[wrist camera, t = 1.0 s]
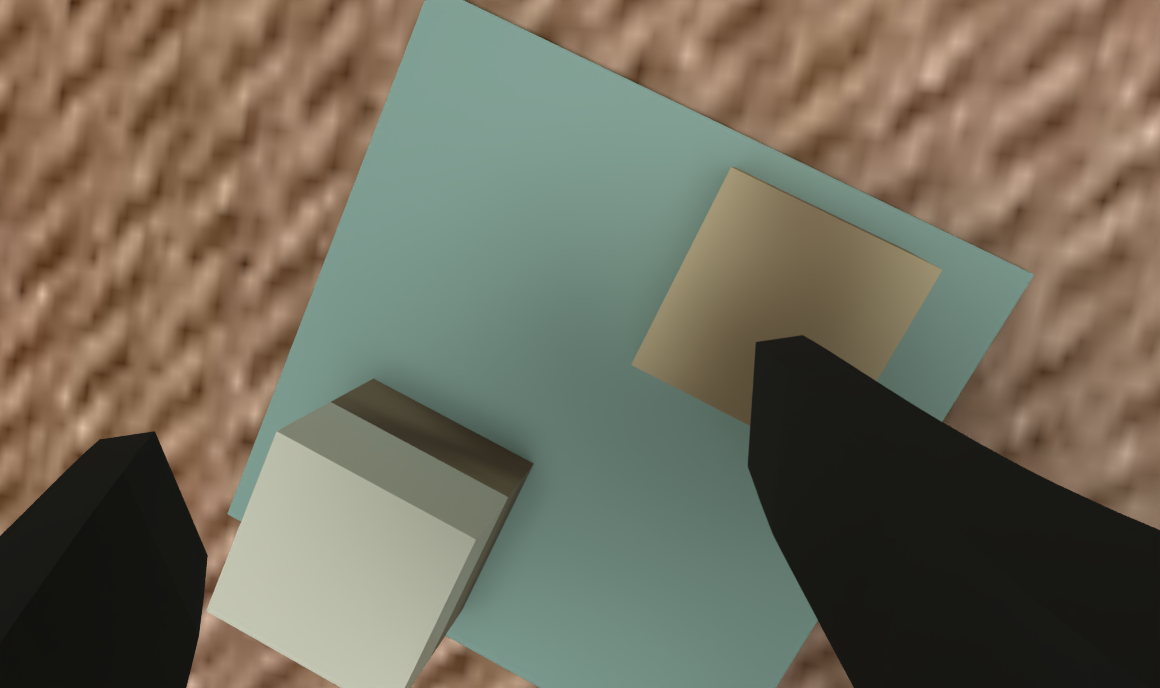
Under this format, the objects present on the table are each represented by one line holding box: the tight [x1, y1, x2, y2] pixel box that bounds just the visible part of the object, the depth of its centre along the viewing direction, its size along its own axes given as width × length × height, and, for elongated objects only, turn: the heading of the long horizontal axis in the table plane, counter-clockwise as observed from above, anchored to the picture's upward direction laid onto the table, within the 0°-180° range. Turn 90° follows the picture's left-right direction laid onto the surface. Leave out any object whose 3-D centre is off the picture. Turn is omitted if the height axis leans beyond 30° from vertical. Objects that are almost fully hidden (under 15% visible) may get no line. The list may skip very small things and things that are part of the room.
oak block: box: [631, 167, 942, 426], centre depth 19 cm, size 4×4×4 cm
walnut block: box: [331, 378, 534, 655], centre depth 23 cm, size 5×5×2 cm
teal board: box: [228, 0, 1034, 688], centre depth 23 cm, size 16×16×1 cm
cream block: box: [207, 402, 508, 688], centre depth 21 cm, size 5×5×2 cm
